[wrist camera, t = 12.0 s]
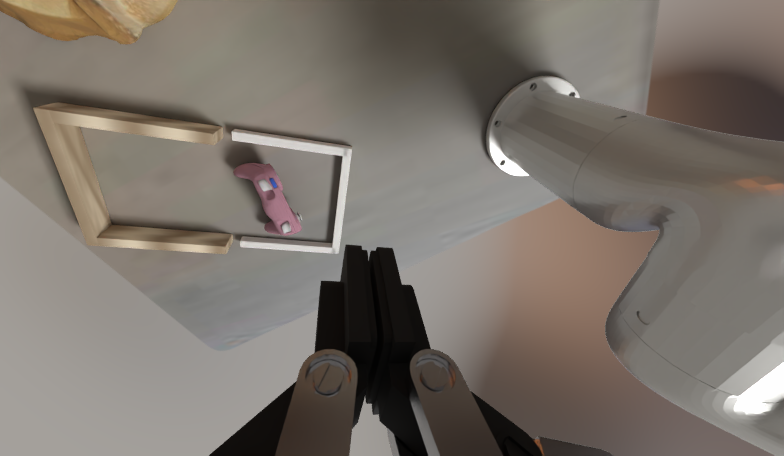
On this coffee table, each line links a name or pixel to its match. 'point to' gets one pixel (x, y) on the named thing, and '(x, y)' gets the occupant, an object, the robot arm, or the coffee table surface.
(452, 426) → the robot arm
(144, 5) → the ashtray
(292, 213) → the video game controller
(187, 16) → the coffee table surface
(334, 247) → the white bay
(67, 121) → the wooden u-shaped frame
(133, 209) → the coffee table surface
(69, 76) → the coffee table surface
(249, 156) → the coffee table surface
